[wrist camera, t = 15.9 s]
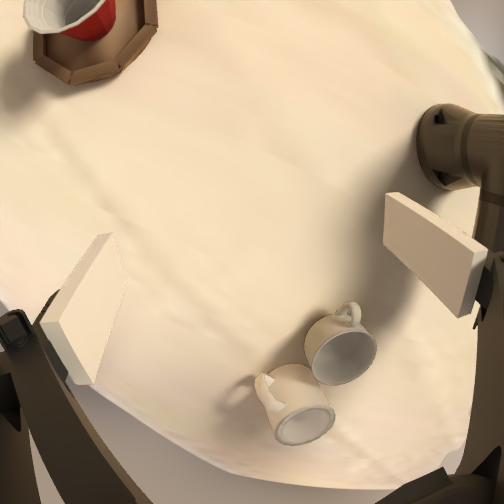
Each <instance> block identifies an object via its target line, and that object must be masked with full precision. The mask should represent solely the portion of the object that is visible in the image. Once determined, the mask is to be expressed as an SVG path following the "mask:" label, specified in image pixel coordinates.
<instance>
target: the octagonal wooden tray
mask: <svg viewBox="0 0 504 504" xmlns="http://www.w3.org/2000/svg"><path fill="white" fill-rule="evenodd" d="M115 3H116V20H115V23H114V26H113V28H112V29H111V31H110V32H109V33H108V34H107V35H105V36H104V37H103V38H101V39H99V40H96V41H93V42H92V41H81V40H79V39H74V38H72V37H69V36H66V35H63V34H60V33H46V34H40V33H38V32H36V31H34V38H33V60H34V61H36V62H35V64H37V65H39V66H40V67H42V68H43V69H45V70H47V71H48V72H50V73H51V74H53V75H55V76H56V77H58V78H59V79H61V80H63V81H64V82H66V83H68V84H73V85H76V84H80V83H85V82H93V81H97V80H101V79H104V78H107V77H109V76H111V75H114V74H116V73H119V72H121V70H122V69H126V67H127V66H128V65H129V64H131V63H132V62H133V61H134V60H135V59H136V58H137V57H138V56H139V55H140V54H141V53H142V52H143V50H144V49H145V48H146V46H147V45H148V43H149V42H150V40H151V38H152V36H153V35H154V34H155V33H156V32H157V29H156V28H158V16H157V3H156V0H115Z"/></svg>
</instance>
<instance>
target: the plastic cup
mask: <svg viewBox="0 0 504 504" xmlns="http://www.w3.org/2000/svg"><path fill="white" fill-rule="evenodd" d="M23 18H24V20H25V22H26V24H27V26H28V27H29V28H30V29H32V30H34V31H36V32H38V33H40V34H46V33H60V34H63V35H66V36H69V37H72V38H74V39H79V40H81V41H92V42H93V41H96V40H99V39H101V38H103V37H104V36H105V35H107V34H108V33H109V32H110V31H111V29H112V28H113V26H114V23H115V20H116V3H115V0H25V1H24V8H23Z"/></svg>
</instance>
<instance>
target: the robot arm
mask: <svg viewBox="0 0 504 504" xmlns="http://www.w3.org/2000/svg"><path fill="white" fill-rule="evenodd" d="M417 152H418V157H419V161H420V164H421V167H422V169H423V171H424V173H425V175H426V176H427V178H428V179H429V180H430V181H431V182H432V183H433V184H434V185H436V186H438V187H440V188H444V189H448V190H459V189H464V188H470V187H475V186H478V187H481V188H480V196H479V202H478V208H477V214H476V219H475V224H474V230H473V234H472V238H471V237H470V236H469V235H467V234H466V233H464V232H462V231H461V230H459V229H458V228H456V227H455V226H453V225H452V224H450V223H448V222H447V221H445V220H444V219H442V218H441V217H439V216H437V215H436V214H434V213H433V212H431V211H429V210H428V209H426V208H424V207H423V206H421V205H419V204H418V203H416V202H414V201H413V200H411V199H409V198H408V197H406V196H404V195H402V194H401V193H399V192H393V193H385V215H384V232H383V245H385V246H386V247H387V248H388V249H389V250H390V251H391V252H392V253H393V254H394V255H395V256H396V257H397V258H398V259H399V260H400V261H401V262H402V263H404V264H405V265H406V266H407V267H408V268H409V269H410V270H411V271H412V272H413V273H414V274H415V275H416V276H417V277H418V278H419V279H420V280H421V281H422V282H423V283H424V284H425V285H426V286H427V287H428V288H429V289H430V290H431V291H432V292H433V293H434V294H435V295H436V296H437V297H438V298H439V300H440V301H441V302H442V303H443V304H444V305H445V306H446V307H447V308H448V309H449V310H450V311H451V312H452V313H453V314H454V315H455V316H456V318H460V317H462V316H465V315H468V314H471V311H472V308H473V305H474V302H475V300H476V301H477V302H478V303H479V304H480V308H479V311H478V314H477V317H476V320H475V323H474V326H473V329H475V328H476V326H477V325H478V341H477V361H476V375H475V385H474V394H473V402H472V410H471V416H470V423H469V429H468V434H467V440H466V445H465V449H464V454H463V457H462V460H461V463H460V465H459V467H458V468H457V470H456V472H455V474H451V475H447V473H446V471H445V469H444V467H441V468H440V469H437V470H435V471H433V472H431V473H429V474H427V475H424V476H422V477H420V478H418V479H415V480H413V481H411V482H408V483H406V484H404V485H402V486H401V487H399V488H398V489H396V490H395V491H394V492H392V493H391V494H389V495H388V496H386V497H385V498H383V499H381V500H380V501H378V502H377V503H375V504H504V115H496V114H476V113H474V112H471V111H469V110H467V109H465V108H462V107H460V106H457V105H454V104H437V105H435V106H433V107H431V108H430V109H428V110H427V112H426V113H425V114H424V116H423V117H422V119H421V122H420V124H419V128H418V133H417ZM127 285H128V281H127V278H126V275H125V272H124V269H123V266H122V263H121V260H120V256H119V253H118V250H117V246H116V243H115V240H114V236H113V233H108V234H102V235H98V236H97V238H96V239H95V240H94V242H93V243H92V244H91V246H90V247H89V248H88V250H87V251H86V253H85V254H84V255H83V257H82V258H81V260H80V261H79V262H78V264H77V265H76V267H75V268H74V270H73V271H72V273H71V274H70V275H69V277H68V278H67V280H66V281H65V283H64V284H63V286H62V287H61V289H59V290H57V291H56V292H55V293H54V294H53V295H52V296H51V297H50V298H49V299H48V301H47V302H46V304H45V306H44V307H43V309H42V310H41V313H39V315H38V317H37V318H36V320H35V321H34V323H33V325H31V323H30V322H29V320H28V318H27V316H26V314H25V312H24V311H23V310H20V309H16V310H12V311H10V312H7V313H6V314H4V315H3V316H1V317H0V343H1V345H2V347H3V348H4V350H5V351H4V352H0V504H41V501H40V496H39V492H38V487H37V483H36V477H35V473H34V466H33V460H32V454H31V447H30V439H29V431H28V427H29V429H30V432H31V435H32V437H33V440H34V442H35V444H36V447H37V449H38V451H39V454H40V455H41V458H42V460H43V462H44V464H45V466H46V469H47V471H48V473H49V475H50V477H51V479H52V480H53V483H54V485H55V486H56V488H57V490H58V492H59V494H60V496H61V498H62V499H63V501H64V502H65V504H153V503H152V502H151V501H150V500H149V499H148V498H147V496H146V495H145V494H144V493H143V492H142V490H141V489H140V488H139V487H138V486H137V485H136V483H135V482H134V481H133V480H132V479H131V477H130V476H129V475H128V474H127V473H126V471H125V470H124V469H123V468H122V466H121V465H120V463H119V462H118V461H117V460H116V458H115V457H114V456H113V454H112V453H111V451H110V450H109V449H108V447H107V446H106V445H105V443H104V442H103V440H102V439H101V438H100V436H99V435H98V433H97V432H96V430H95V429H94V427H93V426H92V424H91V423H90V421H89V420H88V418H87V416H86V415H85V413H84V412H83V410H82V408H81V407H80V405H79V404H78V402H77V400H76V399H75V397H74V395H73V393H72V392H71V390H70V388H69V387H68V385H67V384H66V382H65V380H66V377H67V375H68V374H69V375H70V377H71V378H72V380H73V381H74V383H75V384H76V385H94V382H95V379H96V375H97V372H98V369H99V366H100V362H101V359H102V356H103V353H104V350H105V347H106V344H107V341H108V338H109V335H110V332H111V329H112V326H113V323H114V320H115V318H116V315H117V312H118V309H119V306H120V304H121V301H122V298H123V296H124V293H125V290H126V288H127Z"/></svg>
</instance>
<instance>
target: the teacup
mask: <svg viewBox="0 0 504 504" xmlns="http://www.w3.org/2000/svg"><path fill="white" fill-rule="evenodd" d="M349 309H350V310H351V316H350V315H346V314H347V312H348V311H349ZM360 320H361V309H360V307H359V305H358V304H357V303H356V302H346V303H345V304H343V305H342V307H341V308H340V309H339V310H337V311H336V313H335V314H332V315H328V316H326V317H323V318H321V319H320V320H318V321H317V322H316V323H315V324H314V325H313V326H312V327H311V328H310V330H309V331H308V333H307V335H306V338H305V341H304V351H305V355H306V358H307V360H308V363H309V365H310V367H311V370H312V374H313V376H314V377H315V378H316V380H318V381H319V382H321V383H323V384H327V385H341V384H345V383H348V382H350V381H352V380H354V379H356V378H358V377H359V376H360V375H362V374H363V373H364V372H365V371H366V370H367V369H368V368H369V366H370V365H371V364H372V362H373V360H374V358H375V355H376V350H377V345H376V341H375V339H374V337H373V336H372V335H371V334H370V333H368V331H367V330H366V329H365V328H364V327H363V326H362V324H361V323H360Z"/></svg>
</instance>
